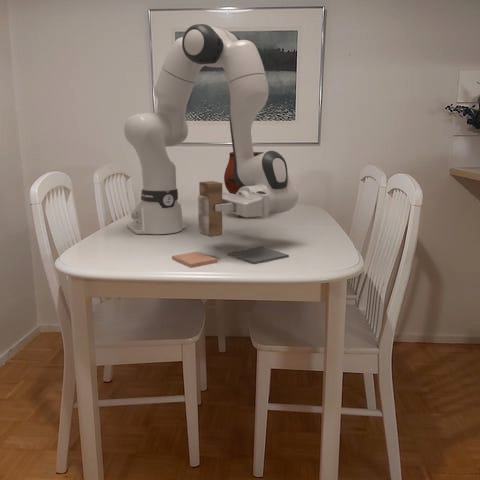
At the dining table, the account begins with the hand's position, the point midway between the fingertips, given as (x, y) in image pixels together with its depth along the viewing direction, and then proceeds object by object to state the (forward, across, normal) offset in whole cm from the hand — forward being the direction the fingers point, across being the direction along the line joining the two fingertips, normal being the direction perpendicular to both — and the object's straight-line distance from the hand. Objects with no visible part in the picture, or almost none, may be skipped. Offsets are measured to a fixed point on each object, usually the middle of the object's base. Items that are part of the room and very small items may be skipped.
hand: (208, 206), depth 131 cm
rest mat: (-12, +6, +14) cm, 20 cm away
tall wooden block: (-1, 0, +8) cm, 8 cm away
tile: (+1, +1, +14) cm, 14 cm away
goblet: (-46, -44, +15) cm, 65 cm away
